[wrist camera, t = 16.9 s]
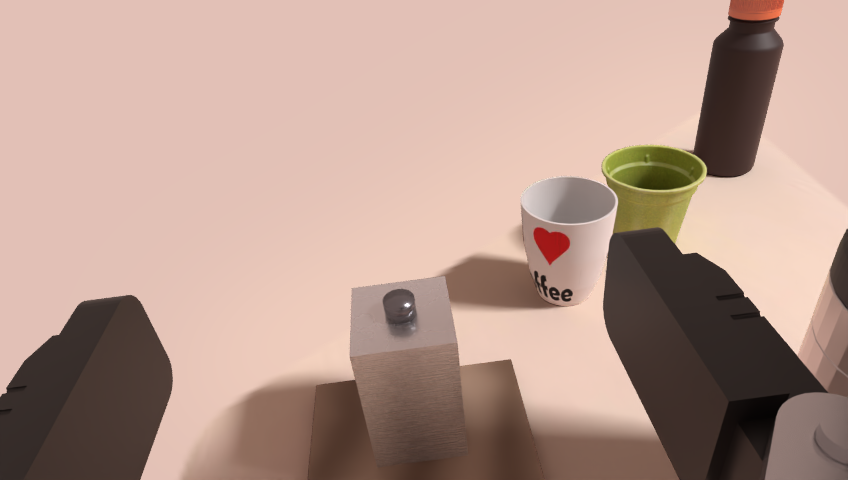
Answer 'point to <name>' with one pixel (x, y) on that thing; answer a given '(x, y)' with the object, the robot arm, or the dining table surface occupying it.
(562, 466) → the dining table surface
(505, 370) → the walnut board
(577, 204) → the cup
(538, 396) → the dining table surface
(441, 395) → the steel cover
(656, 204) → the plant pot
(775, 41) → the bottle
